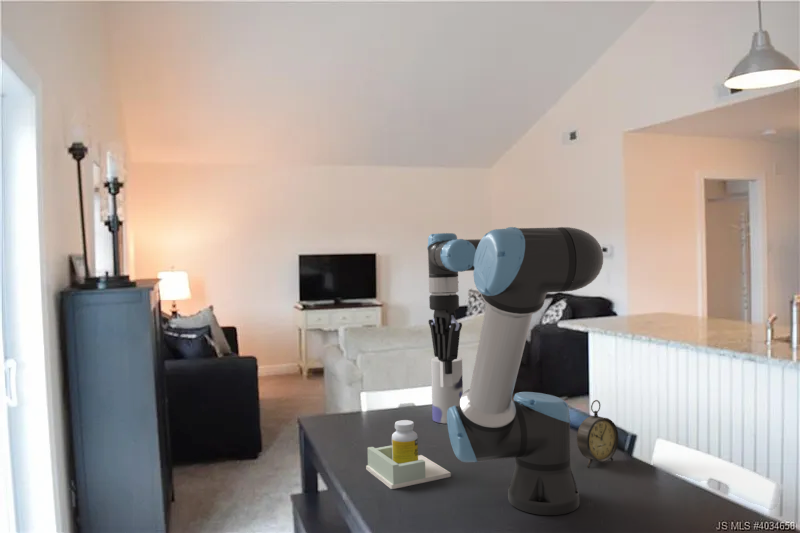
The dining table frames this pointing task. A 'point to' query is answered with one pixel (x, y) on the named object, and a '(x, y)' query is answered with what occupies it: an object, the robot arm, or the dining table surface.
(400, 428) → the pill bottle
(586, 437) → the alarm clock
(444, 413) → the container
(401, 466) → the dock
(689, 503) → the dining table surface
